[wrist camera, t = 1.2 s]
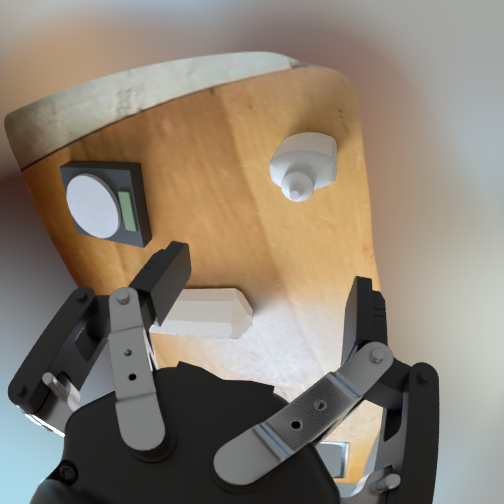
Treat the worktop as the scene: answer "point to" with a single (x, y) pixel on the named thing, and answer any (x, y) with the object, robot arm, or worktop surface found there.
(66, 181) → the kitchen scale
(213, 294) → the chamfered white bar
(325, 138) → the eye dropper bottle
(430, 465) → the robot arm
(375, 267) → the worktop surface
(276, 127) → the worktop surface
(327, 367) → the worktop surface
